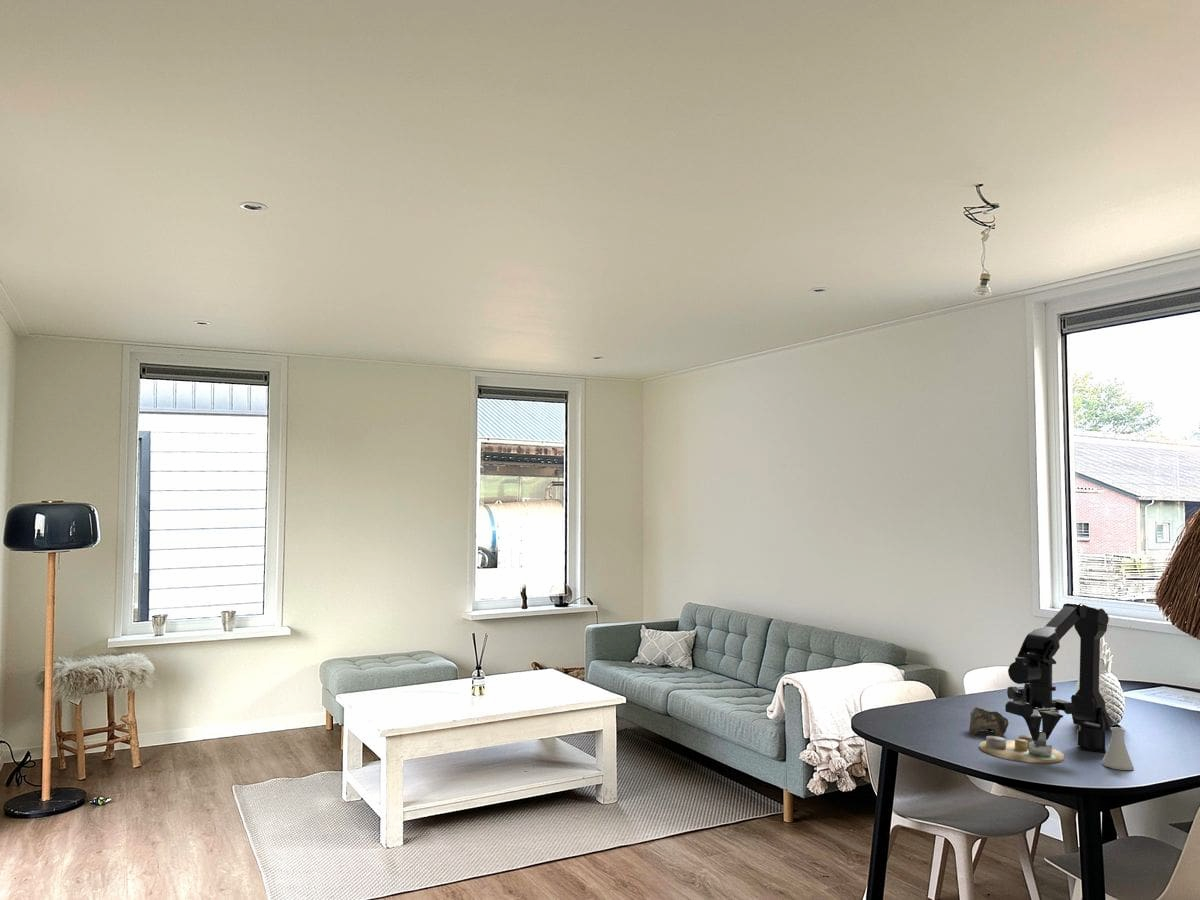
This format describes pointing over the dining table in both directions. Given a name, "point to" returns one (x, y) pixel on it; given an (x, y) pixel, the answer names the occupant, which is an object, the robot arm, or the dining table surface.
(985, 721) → the fossil
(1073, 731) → the dining table surface
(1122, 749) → the flask
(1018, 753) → the carrier plate
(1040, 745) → the silver metal knob
